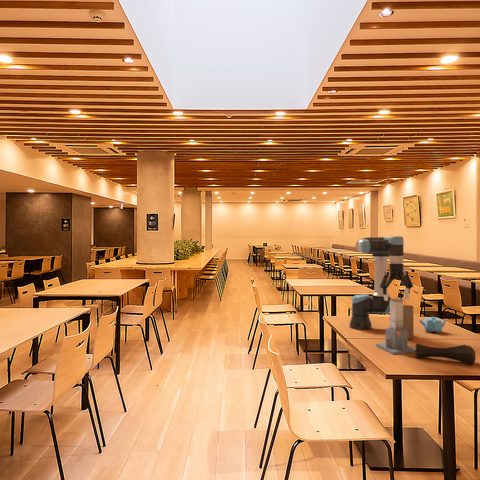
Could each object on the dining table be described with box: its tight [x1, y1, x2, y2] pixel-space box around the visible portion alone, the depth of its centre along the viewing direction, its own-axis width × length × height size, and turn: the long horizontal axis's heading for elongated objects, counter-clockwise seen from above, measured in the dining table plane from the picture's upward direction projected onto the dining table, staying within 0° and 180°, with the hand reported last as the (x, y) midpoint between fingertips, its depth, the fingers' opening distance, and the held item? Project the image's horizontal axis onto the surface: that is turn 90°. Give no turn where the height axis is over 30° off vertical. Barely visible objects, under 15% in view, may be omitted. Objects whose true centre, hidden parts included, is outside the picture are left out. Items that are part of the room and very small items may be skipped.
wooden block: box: [403, 304, 414, 340], centre depth 240 cm, size 10×10×20 cm
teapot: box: [418, 316, 449, 334], centre depth 254 cm, size 18×14×10 cm
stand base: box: [375, 327, 416, 355], centre depth 214 cm, size 16×16×12 cm
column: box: [388, 297, 404, 331], centre depth 214 cm, size 6×6×27 cm
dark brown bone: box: [414, 343, 476, 366], centre depth 194 cm, size 11×10×28 cm
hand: (396, 300), depth 213 cm, fingers open, 13 cm apart
